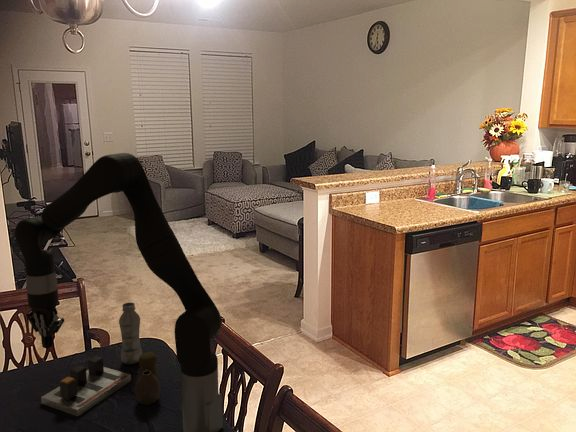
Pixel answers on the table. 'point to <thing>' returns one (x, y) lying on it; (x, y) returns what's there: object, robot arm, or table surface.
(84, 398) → the breaker panel
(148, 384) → the vase
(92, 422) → the table surface
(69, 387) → the breaker handle
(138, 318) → the plastic bottle
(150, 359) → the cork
